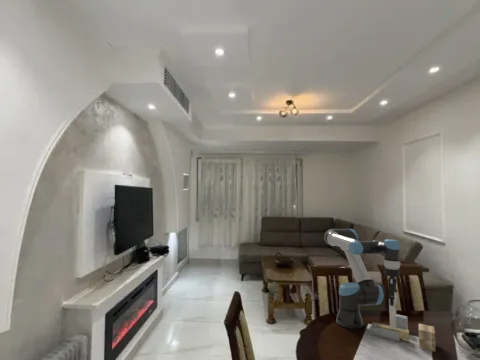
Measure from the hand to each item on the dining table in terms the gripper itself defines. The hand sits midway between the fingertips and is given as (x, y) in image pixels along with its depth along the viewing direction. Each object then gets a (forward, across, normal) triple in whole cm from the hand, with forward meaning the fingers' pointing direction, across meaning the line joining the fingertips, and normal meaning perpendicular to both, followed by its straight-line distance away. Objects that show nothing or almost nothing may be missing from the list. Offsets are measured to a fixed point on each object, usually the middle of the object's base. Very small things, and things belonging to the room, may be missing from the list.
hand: (393, 307), depth 160 cm
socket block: (+16, 0, -15) cm, 22 cm away
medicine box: (+16, +12, -2) cm, 21 cm away
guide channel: (+16, 0, +4) cm, 17 cm away
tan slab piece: (+15, 0, +2) cm, 15 cm away
